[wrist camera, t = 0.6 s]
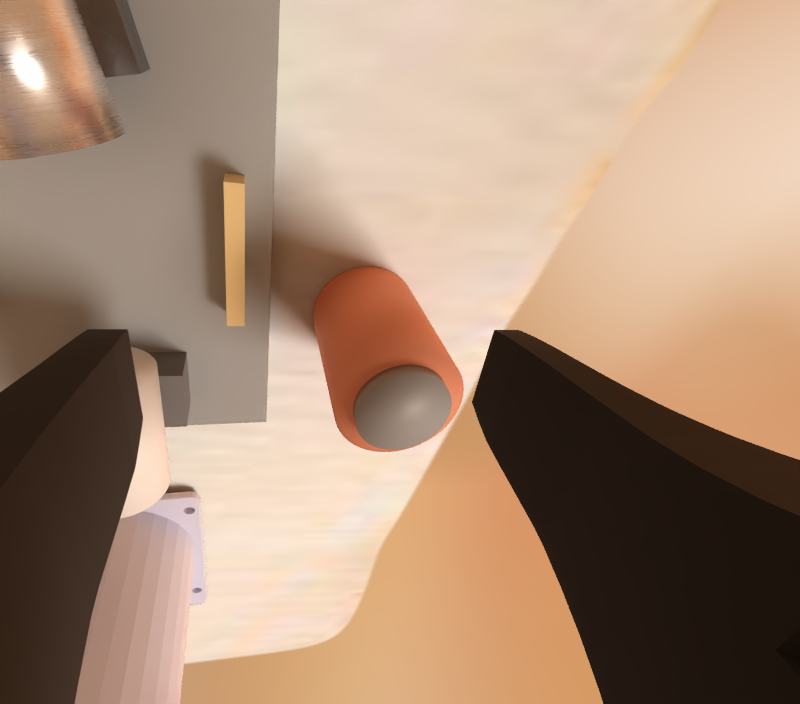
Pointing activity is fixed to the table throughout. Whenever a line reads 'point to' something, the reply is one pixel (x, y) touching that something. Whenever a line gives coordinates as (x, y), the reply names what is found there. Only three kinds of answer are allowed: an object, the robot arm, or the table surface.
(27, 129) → the shaft
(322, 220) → the table surface
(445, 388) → the cylinder
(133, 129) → the bench
